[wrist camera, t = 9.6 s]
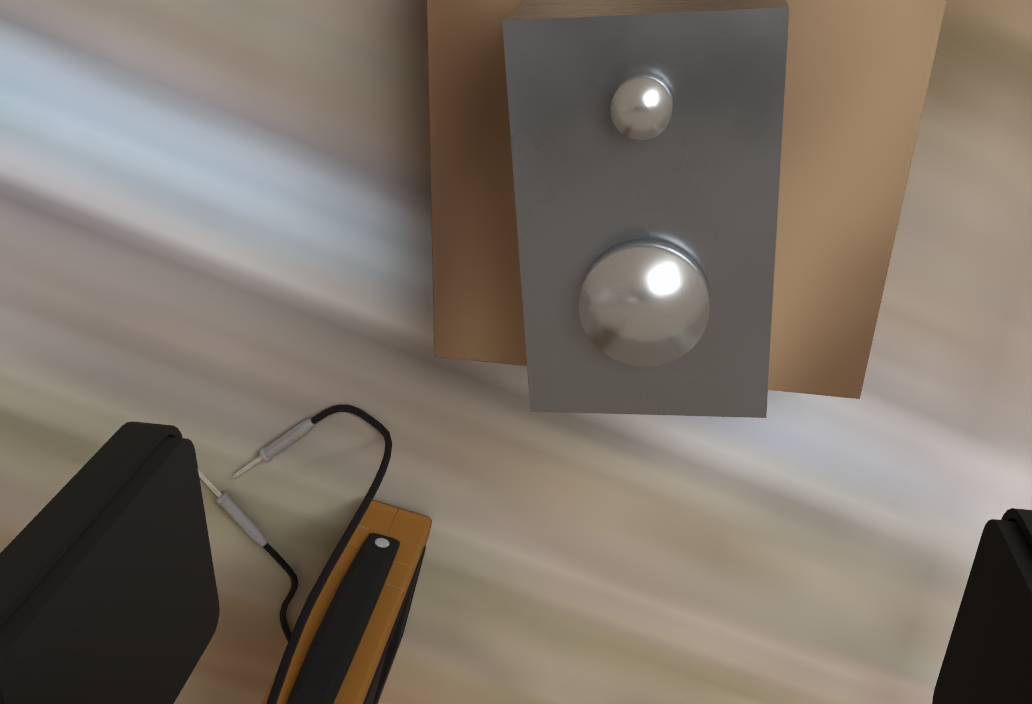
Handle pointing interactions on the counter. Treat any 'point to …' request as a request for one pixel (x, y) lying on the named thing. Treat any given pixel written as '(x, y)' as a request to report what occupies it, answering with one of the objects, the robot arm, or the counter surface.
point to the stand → (802, 188)
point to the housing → (647, 200)
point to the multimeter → (345, 593)
